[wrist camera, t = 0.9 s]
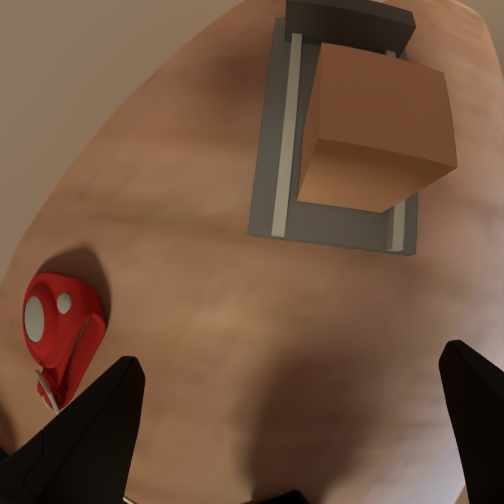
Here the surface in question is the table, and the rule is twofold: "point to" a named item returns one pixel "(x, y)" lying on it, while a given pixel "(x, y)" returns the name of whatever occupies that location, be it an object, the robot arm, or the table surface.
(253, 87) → the table surface
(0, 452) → the watch
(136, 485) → the table surface
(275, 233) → the guide track
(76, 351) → the red tape dispenser
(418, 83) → the brown block
